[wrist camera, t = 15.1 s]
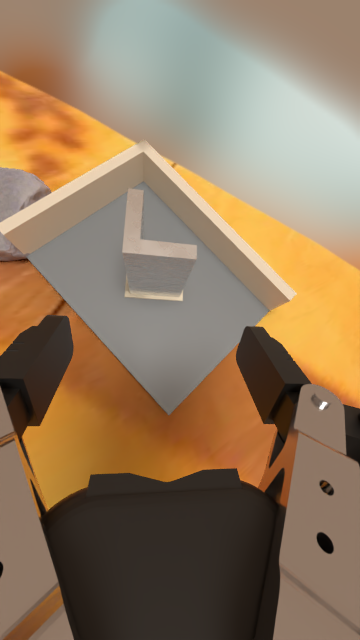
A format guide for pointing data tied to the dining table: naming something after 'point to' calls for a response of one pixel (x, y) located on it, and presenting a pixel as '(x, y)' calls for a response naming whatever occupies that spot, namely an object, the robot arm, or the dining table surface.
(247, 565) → the robot arm
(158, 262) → the bracket
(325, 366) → the dining table surface
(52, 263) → the arena
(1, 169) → the stone block
